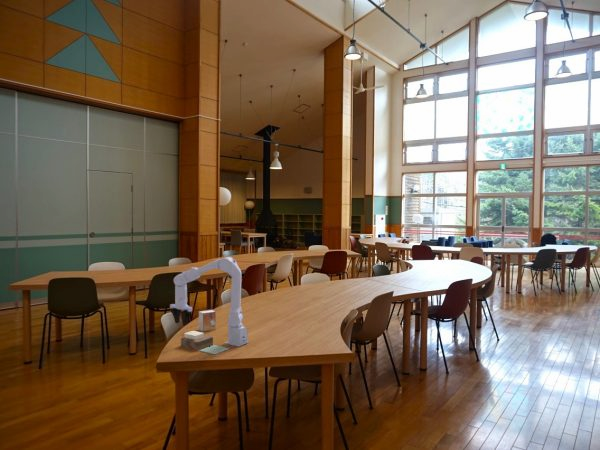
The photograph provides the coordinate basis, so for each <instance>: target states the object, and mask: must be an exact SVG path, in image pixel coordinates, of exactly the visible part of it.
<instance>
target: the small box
mask: <svg viewBox="0 0 600 450" xmlns="http://www.w3.org/2000/svg"><path fill="white" fill-rule="evenodd" d="M216 316H217V313H216V311H215V310H213V309H207V310H202V311H198V330H199V331H200V332H202V333H204V332H207V331H208V332H209V331H215V330H216V324H217V322H216V319H217V317H216Z"/></svg>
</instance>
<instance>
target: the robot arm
mask: <svg viewBox="0 0 600 450" xmlns="http://www.w3.org/2000/svg"><path fill="white" fill-rule="evenodd" d="M213 269H216V270H219V269H220V270H221V271H223V272H225V273H227V274H228V275H229V276H230V277H231V289H230V291H231V292H230V310H229V316H228V317H227V324H228V328H227V329H228V331H227V332H228V333H227V334H228V340H227V341H224V344H225V345H230V346H235V347H241V346H243V345H244V346H245V345H246V344H248V343H249V341H248V329H247V328H246V327H245V326H244V325H243V322H242V321H243V319H244V315H243V312H242V311H243V310H242V309H243V308H242V306H241V305H242V301H241V300H242V277H243V276H242V270H241V268H240V267H239V264H238V262H237V260H236V259H234V257H232V256H226V257H222V258H219V259H216V260H213V261H211V262H209V263H207V264H205V265H203V266H200V267H196V266H195V267H193V266H192V267H190V268H189V269H188V270H186V271H181V273H179V274H177V275H176V276H175V277H174V278H173V283H174V285H175V286H174V288H175V289H174V295H175V296H174V298H175V299H174V301H175V303H172V304H171V303H170V304H169V308H170V312H171V314H172V316H173V319H174V323H175V324H179V323H180V321H181V319H180V318H182V321H181V322H182V325H183V326H186V325H188V321H189V318H190V315H191V314H192V312H193V307H192V306H190V305H188V298H187V297H188V295H187V294H188V287H187V286H188V285H187V283H191V282H193V281H195V280H197V279H199V278H200V277H201V275H203V274H205V273H206V272H210V270H213Z"/></svg>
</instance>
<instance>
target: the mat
mask: <svg viewBox="0 0 600 450" xmlns="http://www.w3.org/2000/svg"><path fill="white" fill-rule="evenodd" d="M228 349H229V350H230V348H229V347H225V346H222V345H216V344H213V345H212V346H210V347H207V348H204V349H201V350H199V352H202V353H206V354H209V353H210V354H209V355H213V354H214V355H215V354H216V355H218V354H221V353H223V352H225V350H226V351H228ZM220 352H221V353H220Z"/></svg>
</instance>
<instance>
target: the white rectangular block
mask: <svg viewBox="0 0 600 450" xmlns="http://www.w3.org/2000/svg"><path fill="white" fill-rule="evenodd" d="M204 335H205V333H204V332H202V331H197V330H191V331H187V332H185V333H183V338H184V337H185V338H189V339H193V340H197V339H200V338H203V337H204Z"/></svg>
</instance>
